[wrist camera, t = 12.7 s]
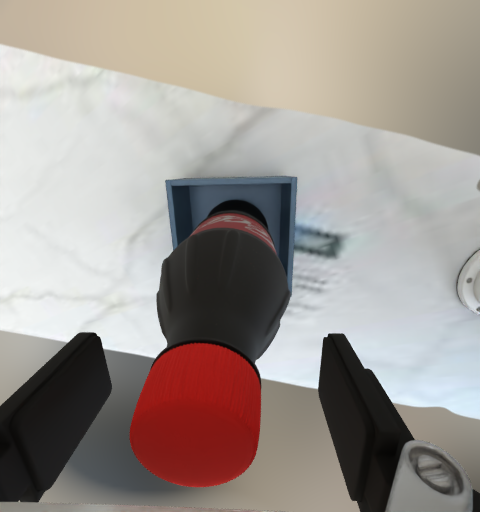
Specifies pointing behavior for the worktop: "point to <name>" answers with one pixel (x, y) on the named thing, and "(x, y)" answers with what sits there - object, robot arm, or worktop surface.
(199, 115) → the worktop surface
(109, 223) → the worktop surface
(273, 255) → the cola bottle
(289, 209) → the case
